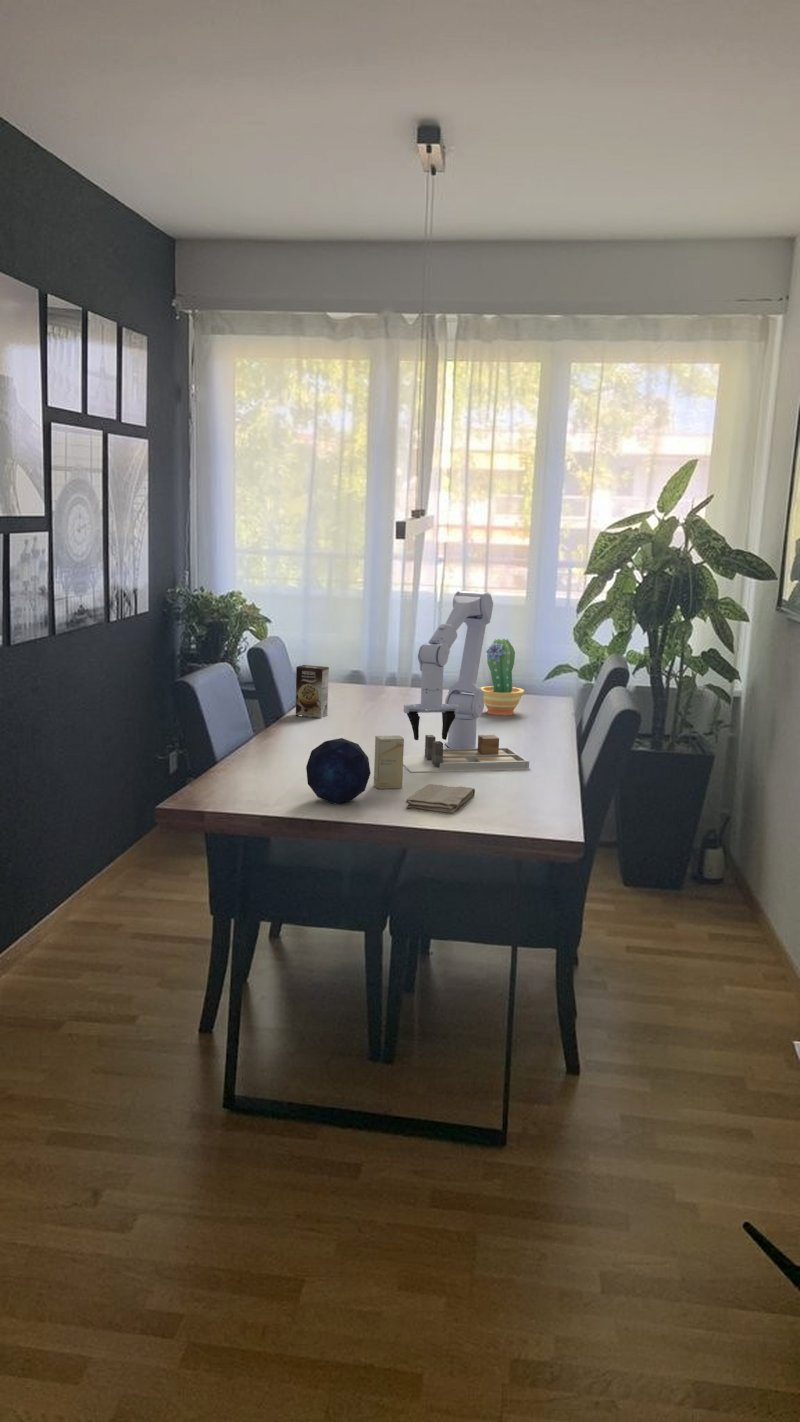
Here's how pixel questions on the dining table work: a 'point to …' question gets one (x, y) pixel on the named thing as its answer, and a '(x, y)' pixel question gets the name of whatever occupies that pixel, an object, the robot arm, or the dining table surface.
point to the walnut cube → (488, 744)
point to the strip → (429, 750)
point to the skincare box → (388, 762)
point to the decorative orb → (338, 770)
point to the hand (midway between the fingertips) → (430, 739)
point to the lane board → (425, 765)
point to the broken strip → (438, 758)
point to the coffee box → (312, 691)
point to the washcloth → (440, 798)
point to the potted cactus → (501, 679)
